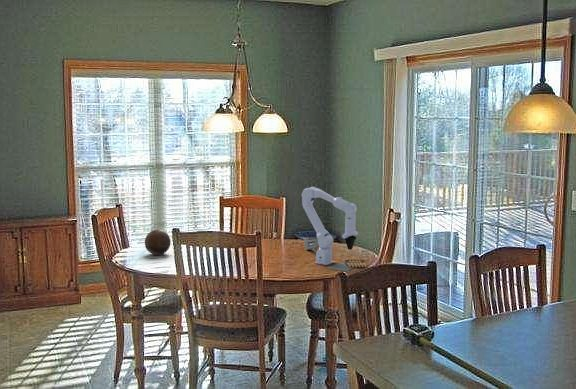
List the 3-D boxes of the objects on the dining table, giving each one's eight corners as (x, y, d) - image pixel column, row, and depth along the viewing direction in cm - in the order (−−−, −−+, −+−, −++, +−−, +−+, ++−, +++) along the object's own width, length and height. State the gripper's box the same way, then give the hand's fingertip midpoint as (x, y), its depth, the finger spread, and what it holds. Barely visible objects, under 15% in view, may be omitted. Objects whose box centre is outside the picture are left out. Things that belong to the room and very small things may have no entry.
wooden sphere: (175, 254, 395) (175, 229, 393) (158, 258, 383) (157, 232, 381) (157, 251, 403) (157, 226, 402) (139, 255, 391) (139, 230, 389)
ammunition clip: (363, 259, 373) (368, 265, 361) (363, 263, 373) (367, 268, 361) (345, 259, 372) (348, 265, 360) (344, 263, 372) (348, 268, 360)
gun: (310, 263, 412) (307, 240, 416) (324, 256, 389) (321, 231, 393) (305, 264, 411) (302, 240, 415) (319, 256, 388) (316, 231, 392)
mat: (345, 271, 354) (345, 270, 354) (326, 268, 361) (326, 267, 361) (360, 265, 368) (360, 265, 368) (342, 263, 375) (342, 262, 375)
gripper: (350, 227, 359) (349, 252, 360) (363, 224, 371) (362, 248, 372) (338, 226, 363) (338, 250, 365) (352, 223, 375) (351, 246, 376)
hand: (349, 249), depth 369 cm, fingers closed
